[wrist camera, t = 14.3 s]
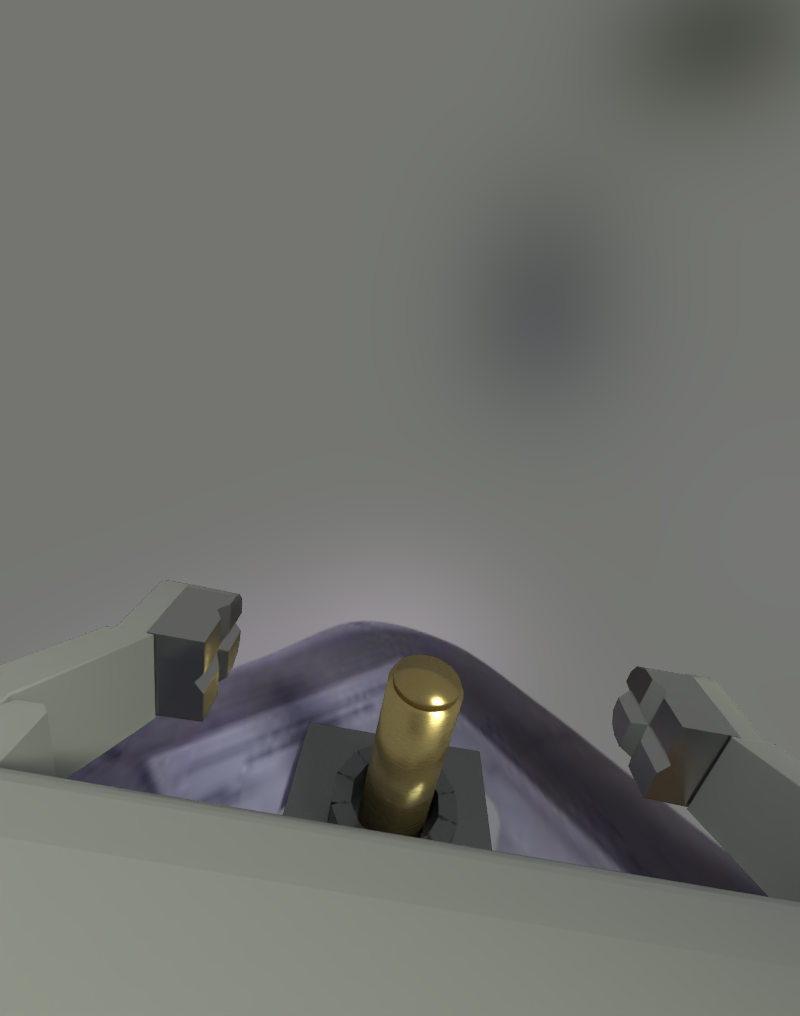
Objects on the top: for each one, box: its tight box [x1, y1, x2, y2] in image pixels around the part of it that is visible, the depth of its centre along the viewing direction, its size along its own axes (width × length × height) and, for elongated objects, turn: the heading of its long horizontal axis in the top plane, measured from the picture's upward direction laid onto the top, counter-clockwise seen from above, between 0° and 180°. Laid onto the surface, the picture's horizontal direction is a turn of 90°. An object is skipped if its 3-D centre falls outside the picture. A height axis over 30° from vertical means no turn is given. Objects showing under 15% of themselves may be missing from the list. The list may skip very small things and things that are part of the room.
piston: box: [357, 654, 464, 838], centre depth 33 cm, size 5×5×15 cm
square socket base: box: [283, 722, 492, 850], centre depth 35 cm, size 16×16×4 cm
